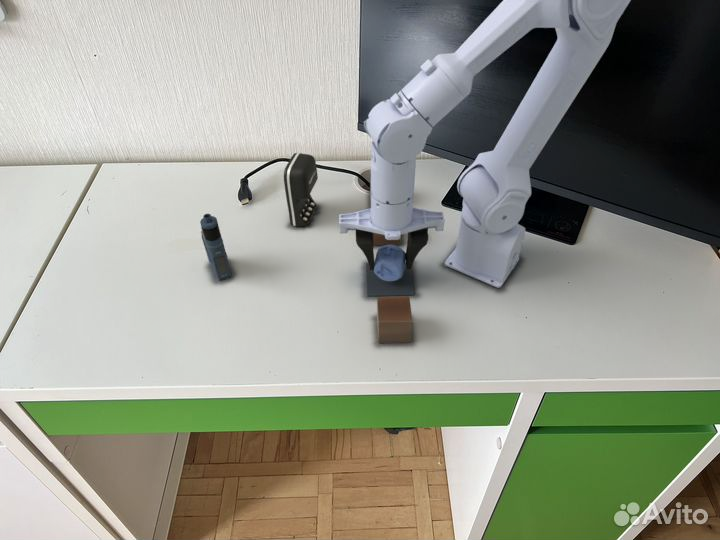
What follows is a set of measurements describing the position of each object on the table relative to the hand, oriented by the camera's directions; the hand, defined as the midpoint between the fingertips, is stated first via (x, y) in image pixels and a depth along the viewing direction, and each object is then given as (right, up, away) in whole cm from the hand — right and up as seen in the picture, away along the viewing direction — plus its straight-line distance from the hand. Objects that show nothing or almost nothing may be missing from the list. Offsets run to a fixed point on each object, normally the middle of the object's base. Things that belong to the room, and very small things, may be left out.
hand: (389, 264), depth 80 cm
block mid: (0, +5, +9) cm, 10 cm away
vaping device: (-27, -1, +4) cm, 27 cm away
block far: (0, +12, +16) cm, 20 cm away
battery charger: (-14, +9, +14) cm, 21 cm away
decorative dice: (0, -1, +1) cm, 2 cm away
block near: (0, -9, -5) cm, 10 cm away
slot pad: (0, -2, +2) cm, 3 cm away
